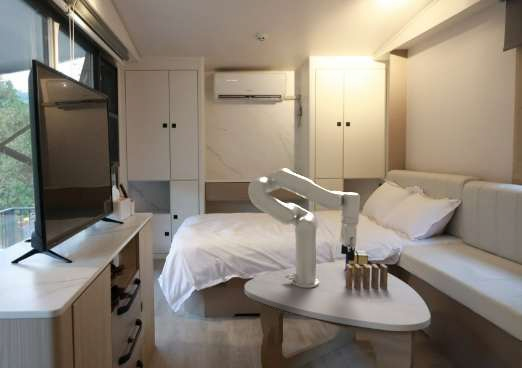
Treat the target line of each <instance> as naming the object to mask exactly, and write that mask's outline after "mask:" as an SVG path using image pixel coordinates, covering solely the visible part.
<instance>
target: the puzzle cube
mask: <svg viewBox="0 0 522 368" xmlns="http://www.w3.org/2000/svg"><path fill="white" fill-rule="evenodd" d="M346 264H350V265H351V266H352V267H353V275H354V265H355V264H358V265H359V266H360V267H361V276H363V264H367V265H368V266H369V256H368V254H367V252H366V250H362V249H361V250H358V249H355V258H354V261H347V254H345V265H346Z"/></svg>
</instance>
